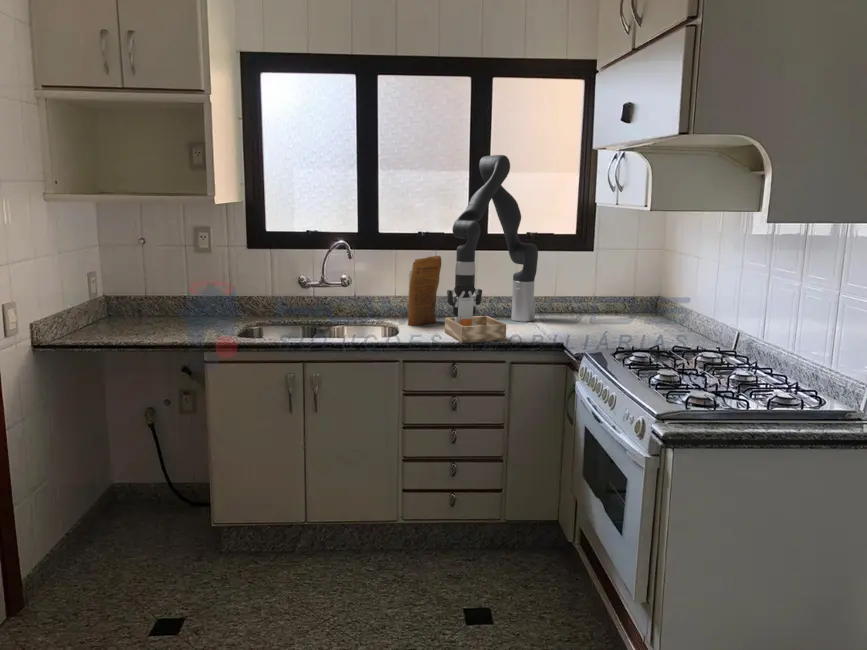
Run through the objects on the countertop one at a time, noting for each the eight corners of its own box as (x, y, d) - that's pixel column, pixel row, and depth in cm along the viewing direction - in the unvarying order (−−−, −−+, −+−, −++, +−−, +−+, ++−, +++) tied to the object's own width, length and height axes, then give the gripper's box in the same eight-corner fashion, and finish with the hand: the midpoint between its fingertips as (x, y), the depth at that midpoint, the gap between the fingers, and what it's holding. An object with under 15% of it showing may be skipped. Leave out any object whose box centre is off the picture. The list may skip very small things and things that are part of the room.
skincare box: (458, 329, 278) (458, 298, 275) (454, 326, 282) (455, 296, 279) (473, 328, 280) (473, 297, 277) (469, 326, 284) (470, 296, 281)
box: (486, 330, 291) (487, 315, 290) (505, 340, 274) (506, 324, 273) (444, 332, 285) (445, 317, 284) (461, 342, 268) (462, 326, 267)
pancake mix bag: (445, 321, 307) (446, 255, 302) (412, 327, 294) (413, 258, 288) (434, 319, 312) (435, 254, 306) (401, 325, 298) (402, 257, 293)
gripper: (478, 271, 282) (477, 313, 286) (444, 272, 278) (443, 315, 281) (486, 273, 275) (484, 317, 279) (451, 274, 271) (449, 318, 274)
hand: (463, 315), depth 280 cm, fingers closed on skincare box, 6 cm apart
